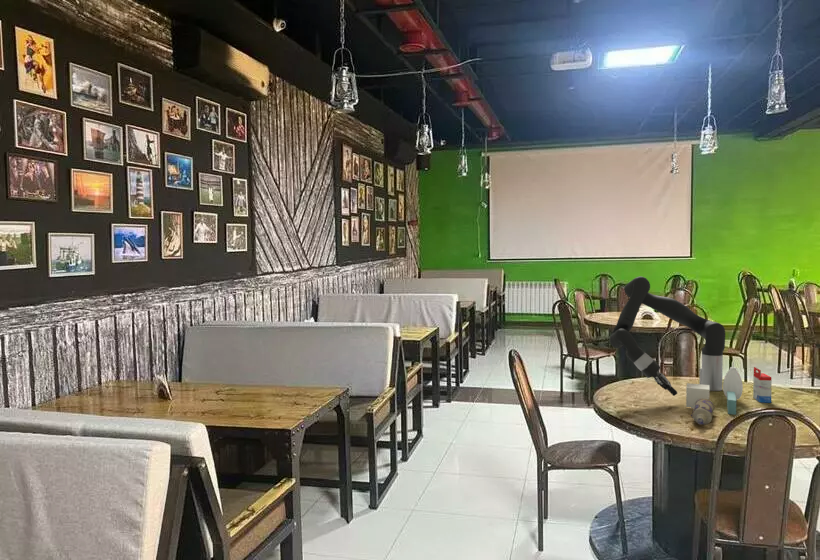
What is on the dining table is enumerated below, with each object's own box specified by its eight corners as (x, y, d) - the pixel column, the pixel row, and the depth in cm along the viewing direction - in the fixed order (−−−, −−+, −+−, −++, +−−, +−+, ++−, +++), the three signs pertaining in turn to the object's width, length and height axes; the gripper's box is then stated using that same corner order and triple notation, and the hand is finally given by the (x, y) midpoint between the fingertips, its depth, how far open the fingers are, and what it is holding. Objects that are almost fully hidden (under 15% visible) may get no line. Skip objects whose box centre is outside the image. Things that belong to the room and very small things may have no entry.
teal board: (727, 413, 245) (728, 399, 244) (726, 404, 259) (727, 391, 259) (736, 414, 243) (736, 400, 243) (734, 405, 258) (734, 391, 257)
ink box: (771, 403, 260) (772, 370, 260) (759, 402, 261) (760, 370, 260) (764, 398, 269) (764, 366, 268) (752, 397, 270) (753, 366, 269)
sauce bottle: (741, 399, 267) (742, 360, 266) (743, 403, 260) (743, 363, 259) (722, 398, 270) (722, 359, 269) (723, 402, 263) (723, 362, 262)
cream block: (686, 407, 255) (686, 387, 255) (686, 402, 263) (687, 383, 263) (709, 410, 251) (709, 389, 251) (709, 405, 259) (709, 385, 259)
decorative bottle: (694, 412, 249) (695, 396, 248) (714, 414, 245) (715, 399, 244) (687, 428, 226) (688, 411, 226) (709, 431, 223) (710, 414, 222)
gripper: (641, 367, 273) (670, 396, 268) (638, 373, 261) (668, 403, 256) (654, 357, 270) (683, 385, 265) (651, 362, 259) (681, 392, 254)
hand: (675, 394), depth 261 cm, fingers closed
